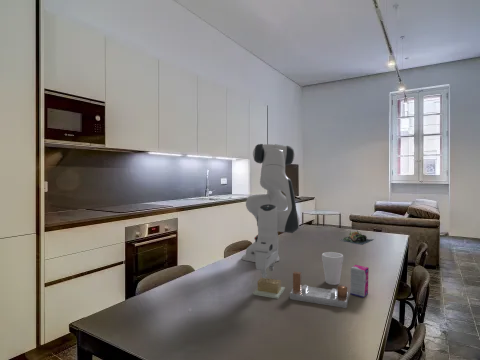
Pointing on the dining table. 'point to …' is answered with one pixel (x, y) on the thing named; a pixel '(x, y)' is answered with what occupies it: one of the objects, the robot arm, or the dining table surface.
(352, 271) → the supplement box
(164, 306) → the dining table surface
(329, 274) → the foam cup
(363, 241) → the plated dish
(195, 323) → the dining table surface
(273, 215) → the robot arm
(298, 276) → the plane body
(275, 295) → the sage mat
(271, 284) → the tan upright box
